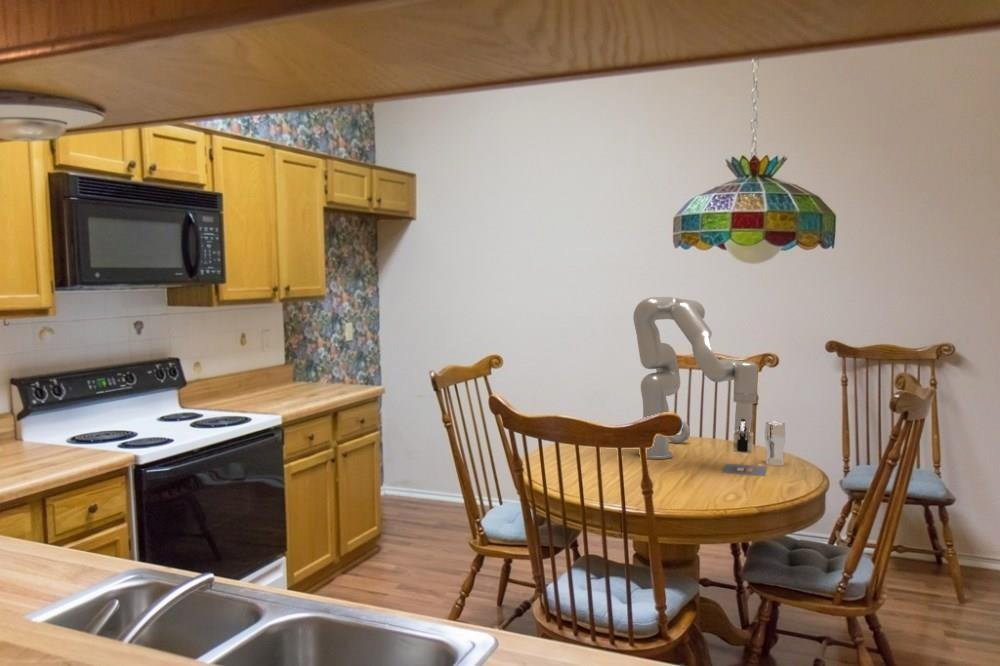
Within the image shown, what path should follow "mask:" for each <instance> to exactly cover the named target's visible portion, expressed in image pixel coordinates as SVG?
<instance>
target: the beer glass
mask: <svg viewBox="0 0 1000 666" xmlns="http://www.w3.org/2000/svg"><path fill="white" fill-rule="evenodd" d="M764 427H765V428H764V441H765V447H766V461H765V463H766V464H767V465H769V466H770V465H771V466H784V465H785V463H784V449H785V445H786V439H787V437H786V423H784V422H782V421H766V422H765V426H764Z"/></svg>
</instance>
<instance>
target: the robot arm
mask: <svg viewBox="0 0 1000 666" xmlns="http://www.w3.org/2000/svg"><path fill="white" fill-rule="evenodd" d="M705 314H706V311H705V308H704V306H703V304H702V303H701V302H699V301H697V300H691V299H685V298H684V299H683V298H678V297H672V296H653V297H648V298H645V299H643V300H641V301H640V302H639V303H638V304H637V305H636V307H635V309H634V311H633V323H634V329H635V334H636V340H637V347H638V353H639V359H640V360H639V361H640V364H641V365H642V367H643V368H645V369H648V370H656V372H651V373H648V374H647V375H645V376H644V377H643V378H642V380H641V382H640V392H641V399H642V419H643V418H644V417H647V416H651V415H655V414H658V413H662V412H669V413H670V408H669V403H668V401H667V397H668V396H669V397H670V396H673V395H675V394H676V393H678V392H679V390H680V387H681V377H680V370H679V368H680V367H679V363H678V357H677V353H676V351H675V349H674V348H673V346H672V345H671V344H668V343H666V342H661V335H660V330H659V327H658V326H657V324H656V320H658V321H659V320H660V321H661V320H672V321H674V322H675V324H676V325H677V327H678V328H679V329H680V331H681V332H682V333H683V335H684V337H685V338H686V339H687V341H688V342H689V343H690V345H691V350H692V354H693V357H694V360H695V362H696V364H697V365H698V367H699V368H700V370H701V371H702V372H703V374H704V375H705V376H706V378H708V379H709V381H712V382H714V383H721V382H728V381H733V399H732V400H733V402H734V403H735V415H734V432H735V431H739V436H738V448H737V450H738V451H743V452H747V446H748V440H747V432H750V430H751V426H752V422H753V421H752V420H753V404H757V391H758V390H757V388H758V387H757V386H758V365H757V363H756V362H753V361H742V360H741V361H740V360H736V359H732V358H725V359H719V358H718V357H717V356H716V354H715V352H714V350H713V349H712V348H711V343H710V342H711V341H710V340H711V337H712V335H713V331H712V330H711V328H710V327H709V326H708V324H707V323H706V322H705V319H704V318H705V316H706V315H705ZM669 446H670V440H669V437H663V436H656V438H655V442H654V446H653V447H652V448H649V449H647V457H648V458H647V459H651V460H667V459H671V458H673V457H674V453H673V452H672V451H670V449H669V448H670V447H669Z"/></svg>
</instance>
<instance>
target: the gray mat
mask: <svg viewBox="0 0 1000 666" xmlns="http://www.w3.org/2000/svg"><path fill="white" fill-rule="evenodd" d="M767 469H768V466H763V465H751V464H739V463H738V464H735V463H725V464H724V467H723V469H722V471H721V473H723V474H734V475H736V474H737V475H748V476H756V477H757V476H758V477H759V476H762V477H766V474H767Z"/></svg>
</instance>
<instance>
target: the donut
mask: <svg viewBox="0 0 1000 666" xmlns="http://www.w3.org/2000/svg"><path fill="white" fill-rule="evenodd" d="M690 434H691V429H690V427H689V424H688V423H687V422H686V421H684V420H683V428H682V430H681V433H680V434H676V436H674V437H669V442H672V443H674V444H682V443H684V442H686V441H687V440H688V439H689V438H690Z"/></svg>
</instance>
